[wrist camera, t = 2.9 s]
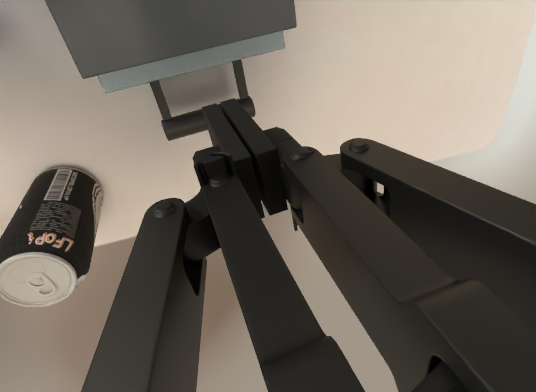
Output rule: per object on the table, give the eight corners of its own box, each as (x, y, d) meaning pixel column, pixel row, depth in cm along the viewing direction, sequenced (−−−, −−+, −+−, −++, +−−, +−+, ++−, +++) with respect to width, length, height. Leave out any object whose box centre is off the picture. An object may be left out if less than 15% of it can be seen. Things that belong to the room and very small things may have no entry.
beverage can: (61, 225, 32) (25, 326, 22) (17, 180, 29) (-47, 276, 19) (116, 200, 33) (104, 289, 23) (78, 153, 29) (47, 233, 20)
